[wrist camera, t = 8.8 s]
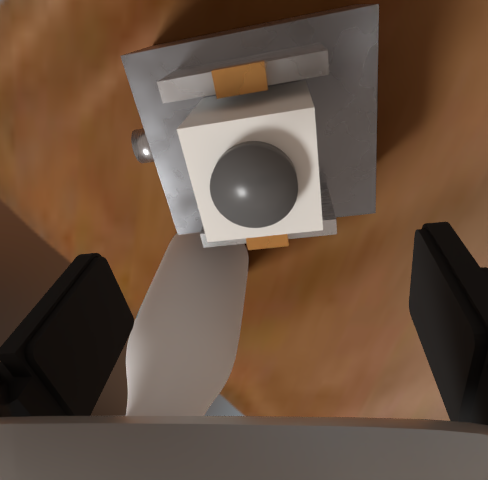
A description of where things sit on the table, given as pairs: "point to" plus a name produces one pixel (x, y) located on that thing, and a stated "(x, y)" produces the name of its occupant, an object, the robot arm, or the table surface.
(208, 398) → the milk bottle
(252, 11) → the table surface
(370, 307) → the table surface
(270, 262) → the table surface
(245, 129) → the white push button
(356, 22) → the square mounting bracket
